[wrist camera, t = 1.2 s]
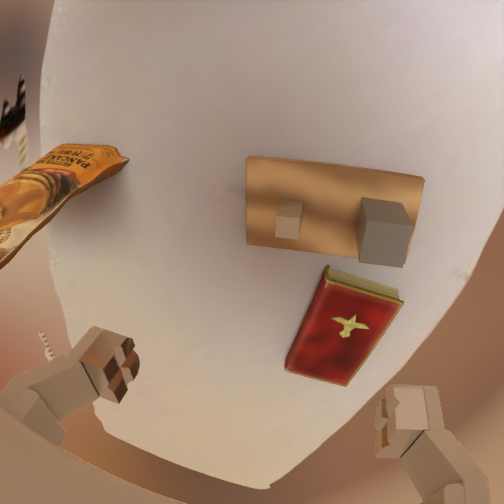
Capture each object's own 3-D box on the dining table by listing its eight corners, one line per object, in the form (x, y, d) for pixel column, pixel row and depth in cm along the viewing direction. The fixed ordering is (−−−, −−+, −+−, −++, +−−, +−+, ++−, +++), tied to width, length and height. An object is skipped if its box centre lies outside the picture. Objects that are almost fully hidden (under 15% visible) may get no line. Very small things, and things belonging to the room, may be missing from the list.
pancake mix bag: (138, 188, 45) (-3, 304, 22) (52, 176, 48) (-71, 258, 24) (136, 144, 41) (-28, 241, 18) (48, 140, 44) (-86, 213, 21)
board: (248, 156, 39) (246, 158, 38) (422, 177, 35) (424, 180, 34) (248, 240, 45) (246, 244, 44) (403, 259, 41) (404, 263, 40)
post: (283, 197, 40) (276, 216, 35) (303, 200, 39) (299, 218, 35) (282, 216, 41) (275, 236, 36) (302, 218, 40) (298, 239, 36)
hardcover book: (286, 354, 56) (282, 371, 53) (326, 262, 45) (324, 280, 41) (346, 370, 56) (345, 387, 52) (400, 286, 44) (404, 304, 40)
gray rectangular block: (361, 197, 37) (366, 220, 32) (402, 202, 36) (413, 226, 31) (355, 234, 40) (358, 262, 34) (393, 239, 39) (402, 267, 33)
